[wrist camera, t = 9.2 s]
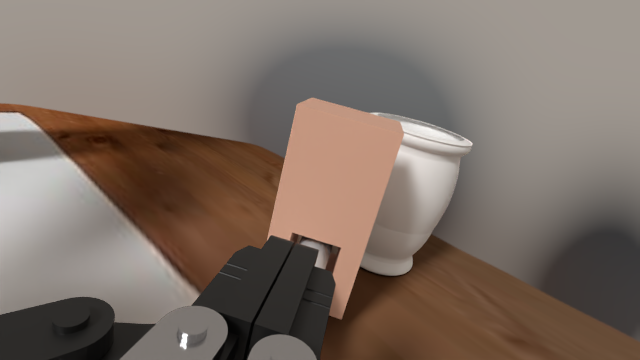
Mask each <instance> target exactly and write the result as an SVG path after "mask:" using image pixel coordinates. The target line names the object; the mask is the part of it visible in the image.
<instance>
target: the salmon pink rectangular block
mask: <svg viewBox="0 0 640 360" xmlns="http://www.w3.org/2000/svg"><path fill="white" fill-rule="evenodd" d="M403 136H404V132H403V129H402V126H401V123H400V122H399V121H395V120H392V119H388V118H385V117H381V116H377V115H374V114H370V113H366V112H362V111H359V110H355V109H352V108H348V107H344V106H341V105H337V104H334V103H330V102H326V101H323V100H319V99H316V98H310V99H308V100H306V101H304V102H301V103H299V104H297V107H296V112H295V116H294V121H293V125H292V130H291V135H290V139H289V143H288V148H287V152H286V157H285V161H284V166H283V170H282V175H281V179H280V184H279V188H278V193H277V197H276V202H275V206H274V211H273V216H272V220H271V225H270V229H269V234H268V238H267V240H268V239H269V237H270V236H271V235H273V236H277V237H280V238H283V239H286V240H289V241H292V242H295V244H296V243H298V242H297V240H298V237H299V235H302V236H305V237H308V238H311V239H315V240H318V241H321V242H324V243H328V244H331V245H334V246H337V247H339V249H338V252H337V254H334V253H330V257H329V260H328V262H327V265H326V269H325V270H328V271H331V272H332V275H333V278H334V280H335V283H336V286H335V290H334V295H333V299H332V303H331V308H330V312H329V316H332V317H335V318H338V319H341V320H342V317H343V314H344V311H345V308H346V305H347V302H348V299H349V296H350V293H351V290H352V287H353V284H354V281H355V278H356V275H357V272H358V269H359V266H360V263H361V260H362V258H363V255H364V252H365V249H366V246H367V243H368V240H369V237H370V234H371V231H372V228H373V225H374V222H375V219H376V216H377V213H378V210H379V207H380V204H381V201H382V198H383V195H384V192H385V189H386V187H387V184H388V181H389V178H390V175H391V172H392V169H393V166H394V163H395V160H396V157H397V154H398V151H399V148H400V145H401V142H402V139H403ZM294 246H295V245H294Z"/></svg>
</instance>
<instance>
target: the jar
mask: <svg viewBox="0 0 640 360" xmlns="http://www.w3.org/2000/svg"><path fill="white" fill-rule="evenodd" d="M370 114H374V115H377V116H381V117H385V118H388V119H392V120H395V121H399V122H400V123H401V126H402V129H403V132H404V136H403V139H402V142H401V145H400V148H399V151H398V154H397V157H396V160H395V163H394V166H393V169H392V172H391V175H390V178H389V181H388V184H387V187H386V189H385V192H384V195H383V198H382V201H381V204H380V207H379V210H378V213H377V216H376V219H375V222H374V225H373V228H372V231H371V234H370V237H369V240H368V243H367V246H366V249H365V252H364V255H363V258H362V260H361V263H360V267H362V268H364V269H366V270H368V271H371V272H374V273H377V274H381V275H388V276H397V275H402V274H405V273H407V272H408V271H409V270H410V269H411V268H412V265H413V258H412V255H413V254H414V253H416V252H417V251H418V250H419V249H420V248H421V247H422V246H423V245H424V243H425V242H426V241H427V239H428V238H429V236H430V235H431V233H432V231H433V229H434V228H435V226H436V225H437V224H438V222H439V220H440V219H441V217H442V215H443V214H444V212H445V210H446V208H447V206H448V204H449V202H450V199H451V197H452V195H453V192H454V189H455V185H456V182H457V178H458V173H459V166H460V159H461V156H463V155H466V154H468V153H469V152H470V150H471V146H472V145H473V144H472V142H470V141H469V140H467V139H465V138H463V137H462V136H460V135H458V134H455V133H453V132H451V131H448V130H446V129H443V128H440V127H438V126H435V125H432V124H428V123H425V122H421V121H418V120H414V119H411V118H407V117H402V116H398V115H392V114H386V113H370Z"/></svg>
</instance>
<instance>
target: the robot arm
mask: <svg viewBox="0 0 640 360" xmlns="http://www.w3.org/2000/svg"><path fill="white" fill-rule="evenodd" d="M294 245H295V246H294ZM318 253H319V250H318V249H315V248H312V247H309V246H305V245H302V244H299V243H296V244H295V242H292V241H289V240H286V239H283V238H280V237H277V236H273V235H271V236H270V237H269V239H268V240H267V242H266V243H265V245H264V246H263V247H262V249H259V248H256V247H253V246H247V247H245V248H243V249H241V250H239V251H237V252H235V253H234V254H233V256H232V257H231V258H230V259H229V261H228V262H227V264H225V265H224V267H223V268H222V269H221V270H220V273H218V274H217V275H216V276H215V278H214V279H213V280H212V281H211V283H210V284H209V285H208V286H207V287H206V289H205V290H204V291H203V292H202V294H201V295H200V296H199V297H198V298H197V300H196V301H195V302H194V303H193V305H192V306H187V307H182V308H179V309H176V310H174V311H171V312H170V313H168V314H167V315H165V316H164V317H163V318H162V319H161V320H160V321H159V322H158V323H157V324H132V323H116V322H114V318H115V314H114V310H113V309H112V307H111V306H110V305H109V304H108V303H106V302H105V301H103V300H100V299H96V298H91V297H76V298H69V299H64V300H60V301H56V302H52V303H48V304H44V305H39V306H35V307H31V308H27V309H23V310H19V311H14V312H10V313H6V314H2V315H0V360H320V352H321V348H322V343H323V339H324V334H325V330H326V326H327V321H328V317H329V312H330V308H331V303H332V299H333V295H334V290H335V286H336V283H335V280H334V278H333V275H332V272H331V271H328V270H325V269H322V268H319V267H316V266H315V264H316V260H317V257H318Z"/></svg>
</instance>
